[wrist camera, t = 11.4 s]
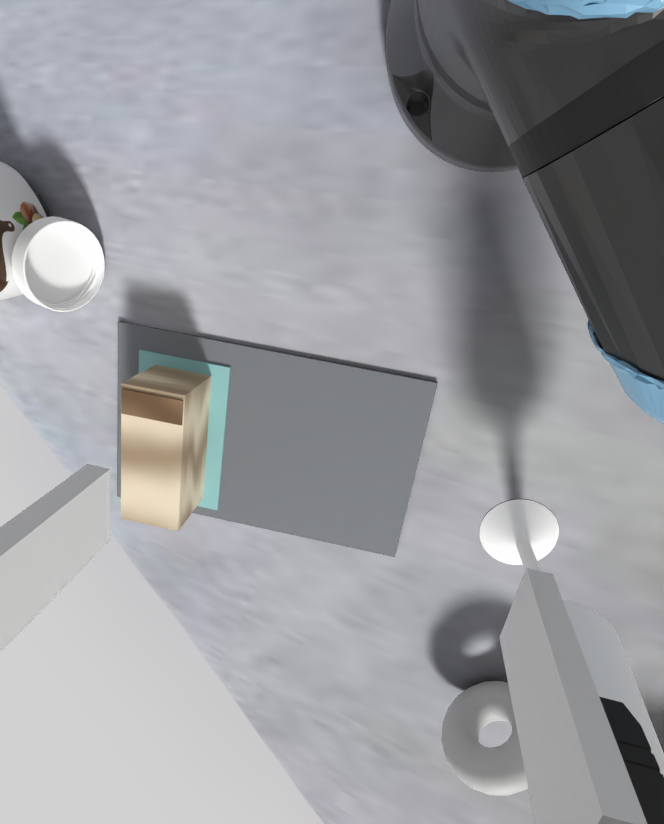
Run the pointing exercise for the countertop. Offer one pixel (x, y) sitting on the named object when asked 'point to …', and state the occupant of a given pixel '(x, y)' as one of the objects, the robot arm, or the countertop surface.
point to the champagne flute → (568, 604)
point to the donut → (467, 756)
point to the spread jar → (44, 250)
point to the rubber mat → (304, 439)
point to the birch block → (163, 445)
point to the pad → (215, 414)
